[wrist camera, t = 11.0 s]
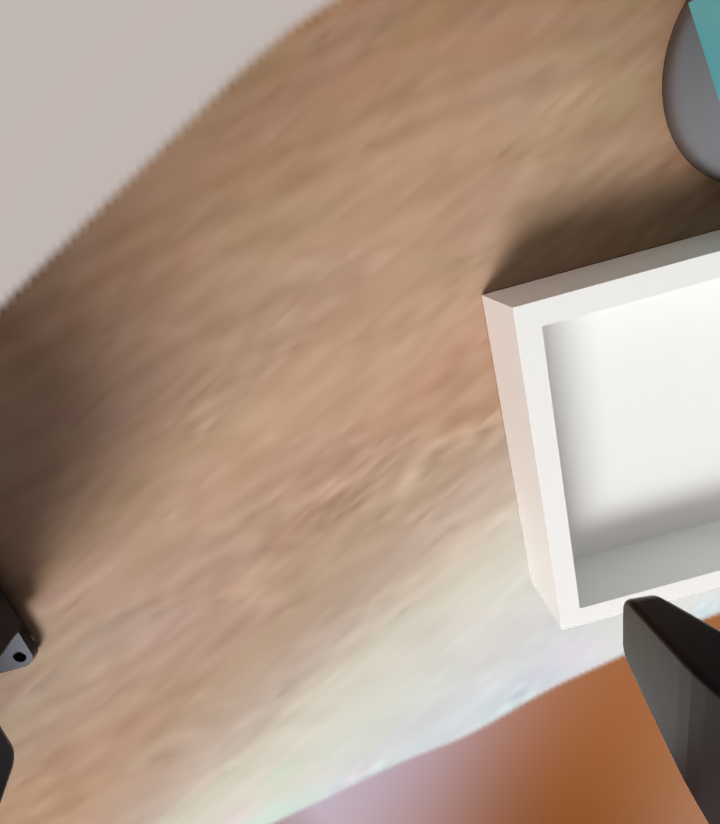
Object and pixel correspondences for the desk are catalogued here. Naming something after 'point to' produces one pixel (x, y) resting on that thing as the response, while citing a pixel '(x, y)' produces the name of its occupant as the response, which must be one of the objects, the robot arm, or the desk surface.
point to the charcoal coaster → (691, 98)
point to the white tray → (615, 426)
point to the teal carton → (709, 34)
